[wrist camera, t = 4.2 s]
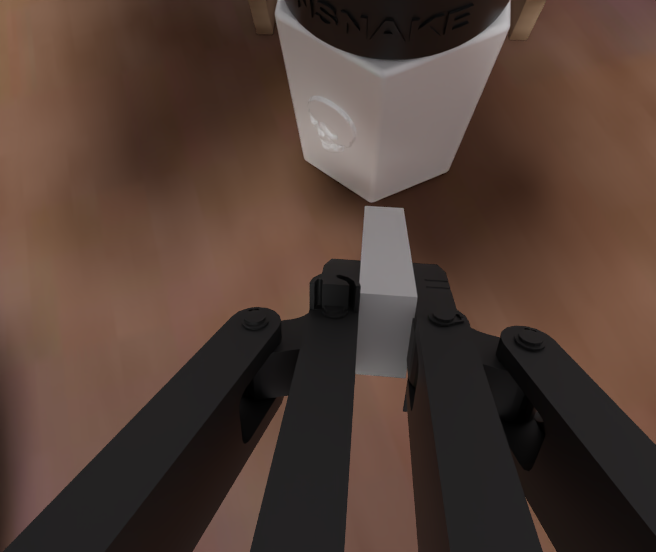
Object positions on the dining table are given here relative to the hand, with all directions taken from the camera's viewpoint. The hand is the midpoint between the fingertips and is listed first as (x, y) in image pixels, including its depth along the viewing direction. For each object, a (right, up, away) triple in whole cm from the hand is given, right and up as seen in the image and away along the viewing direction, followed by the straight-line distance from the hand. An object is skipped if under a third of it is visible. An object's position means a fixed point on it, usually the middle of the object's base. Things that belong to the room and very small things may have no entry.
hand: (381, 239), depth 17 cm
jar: (+1, +6, +7) cm, 9 cm away
